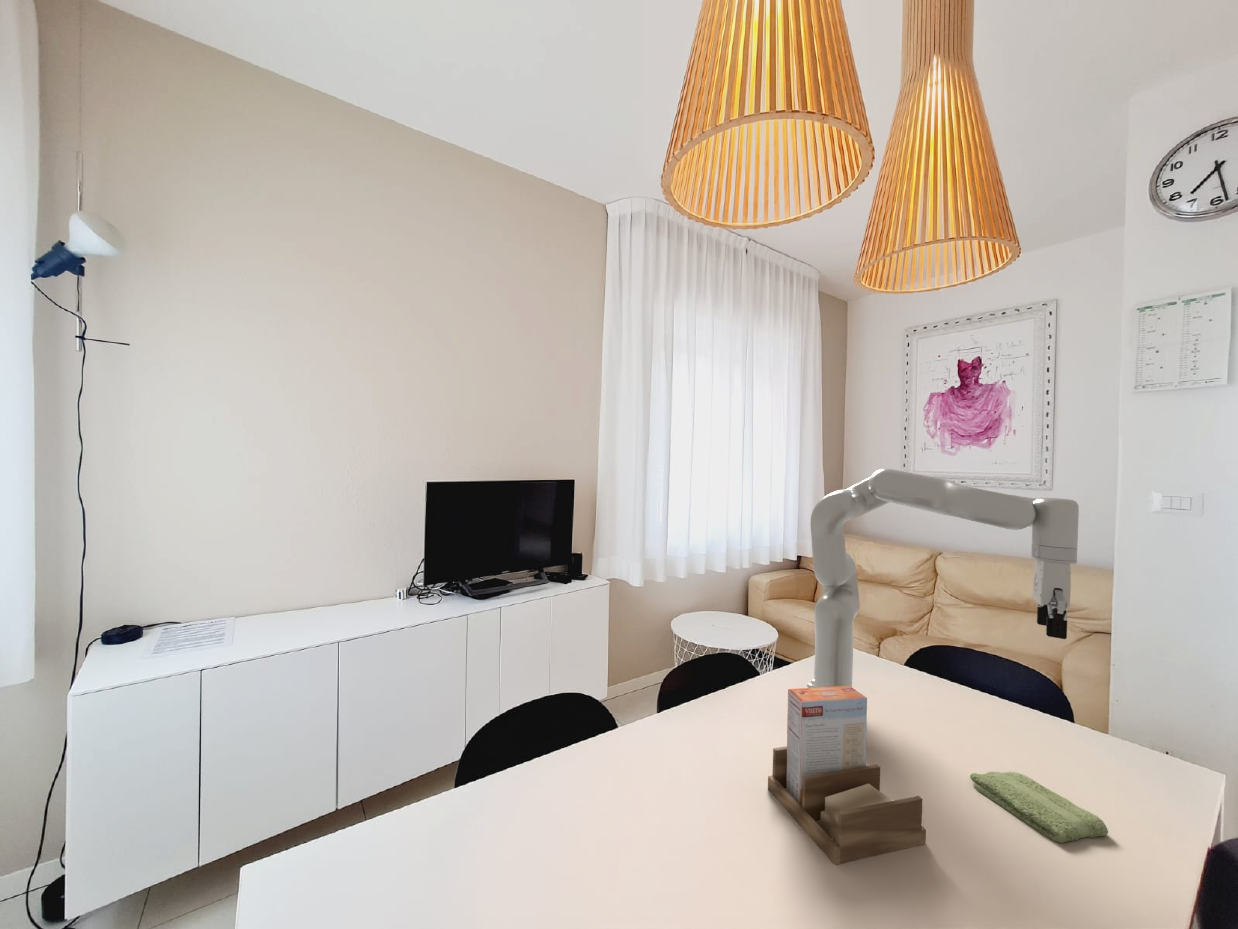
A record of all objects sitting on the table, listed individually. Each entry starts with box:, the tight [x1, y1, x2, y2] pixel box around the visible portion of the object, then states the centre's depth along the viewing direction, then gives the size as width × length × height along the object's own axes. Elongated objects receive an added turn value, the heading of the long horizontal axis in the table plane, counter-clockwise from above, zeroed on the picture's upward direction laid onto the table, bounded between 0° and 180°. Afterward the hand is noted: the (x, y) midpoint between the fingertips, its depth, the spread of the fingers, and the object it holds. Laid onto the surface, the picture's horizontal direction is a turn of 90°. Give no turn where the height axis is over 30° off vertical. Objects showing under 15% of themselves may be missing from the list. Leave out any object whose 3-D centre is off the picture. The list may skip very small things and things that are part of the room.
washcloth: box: [969, 771, 1109, 844], centre depth 94 cm, size 13×18×3 cm
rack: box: [767, 745, 927, 866], centre depth 91 cm, size 19×19×8 cm
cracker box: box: [785, 686, 868, 807], centre depth 95 cm, size 14×6×21 cm, turn 100°
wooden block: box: [819, 784, 894, 844], centre depth 86 cm, size 6×12×6 cm, turn 108°
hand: (1051, 631), depth 106 cm, fingers open, 9 cm apart
